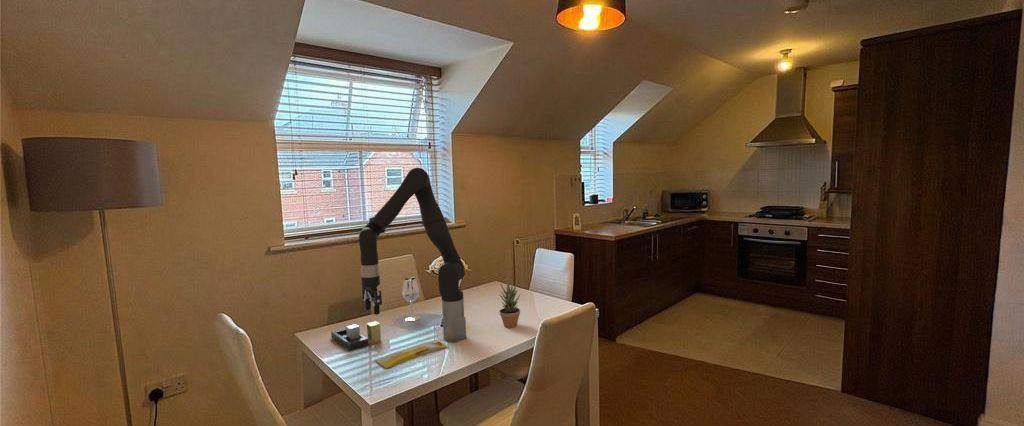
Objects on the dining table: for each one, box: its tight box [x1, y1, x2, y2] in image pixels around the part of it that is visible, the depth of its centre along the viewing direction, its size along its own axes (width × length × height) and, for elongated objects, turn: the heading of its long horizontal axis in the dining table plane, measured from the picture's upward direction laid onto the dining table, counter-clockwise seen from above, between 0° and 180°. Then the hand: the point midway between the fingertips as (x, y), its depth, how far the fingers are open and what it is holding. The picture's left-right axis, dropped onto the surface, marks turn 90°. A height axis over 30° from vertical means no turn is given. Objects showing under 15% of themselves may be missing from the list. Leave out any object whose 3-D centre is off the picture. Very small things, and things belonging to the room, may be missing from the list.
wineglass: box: [402, 277, 421, 322], centre depth 211 cm, size 8×8×20 cm
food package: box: [374, 339, 449, 369], centre depth 170 cm, size 27×2×10 cm
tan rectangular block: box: [366, 321, 382, 345], centre depth 184 cm, size 4×4×8 cm
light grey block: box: [345, 323, 361, 342], centre depth 181 cm, size 4×4×8 cm
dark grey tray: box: [330, 327, 370, 352], centre depth 185 cm, size 20×8×3 cm, turn 42°
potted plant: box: [498, 273, 521, 329], centre depth 197 cm, size 10×10×25 cm
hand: (372, 311), depth 183 cm, fingers open, 8 cm apart
